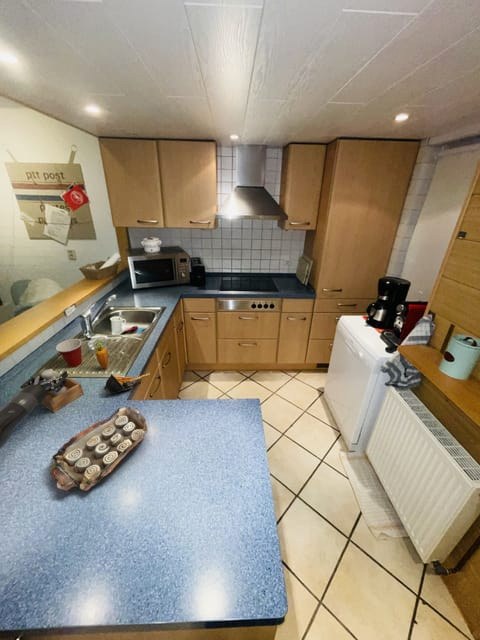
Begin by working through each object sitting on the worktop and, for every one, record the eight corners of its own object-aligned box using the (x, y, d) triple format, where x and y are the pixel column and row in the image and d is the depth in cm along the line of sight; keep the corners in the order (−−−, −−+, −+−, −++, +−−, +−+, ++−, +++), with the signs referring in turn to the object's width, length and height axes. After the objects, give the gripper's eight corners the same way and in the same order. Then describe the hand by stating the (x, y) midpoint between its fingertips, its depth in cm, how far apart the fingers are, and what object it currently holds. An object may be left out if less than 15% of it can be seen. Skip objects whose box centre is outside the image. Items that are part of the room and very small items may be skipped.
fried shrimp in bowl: (97, 381, 109) (133, 354, 118) (114, 399, 112) (147, 372, 121) (101, 385, 101) (138, 356, 110) (118, 404, 105) (153, 375, 114)
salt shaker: (70, 389, 108) (57, 365, 102) (64, 399, 103) (50, 374, 97) (56, 392, 107) (42, 368, 102) (49, 402, 102) (34, 377, 96)
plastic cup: (58, 372, 122) (51, 351, 117) (67, 359, 131) (61, 339, 126) (83, 369, 124) (76, 348, 119) (90, 357, 134) (84, 337, 128)
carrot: (108, 372, 122) (102, 345, 116) (98, 372, 122) (90, 346, 116) (112, 366, 127) (106, 340, 120) (102, 366, 126) (95, 340, 120)
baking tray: (81, 512, 67) (76, 500, 65) (38, 474, 76) (32, 462, 74) (162, 432, 91) (160, 421, 89) (122, 409, 100) (119, 399, 98)
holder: (54, 412, 99) (49, 401, 96) (38, 401, 104) (33, 391, 101) (84, 394, 108) (80, 384, 106) (67, 385, 113) (64, 375, 111)
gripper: (43, 393, 87) (72, 365, 102) (1, 392, 87) (36, 365, 101) (49, 409, 90) (76, 380, 105) (9, 409, 90) (42, 380, 105)
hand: (57, 372), depth 103 cm, fingers open, 7 cm apart
